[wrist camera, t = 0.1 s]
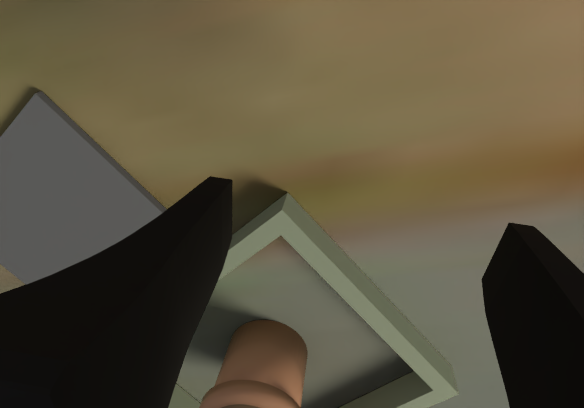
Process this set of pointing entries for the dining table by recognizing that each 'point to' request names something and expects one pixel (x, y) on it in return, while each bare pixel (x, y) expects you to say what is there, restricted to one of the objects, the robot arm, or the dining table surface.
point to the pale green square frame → (358, 294)
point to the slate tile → (61, 194)
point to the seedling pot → (260, 368)
